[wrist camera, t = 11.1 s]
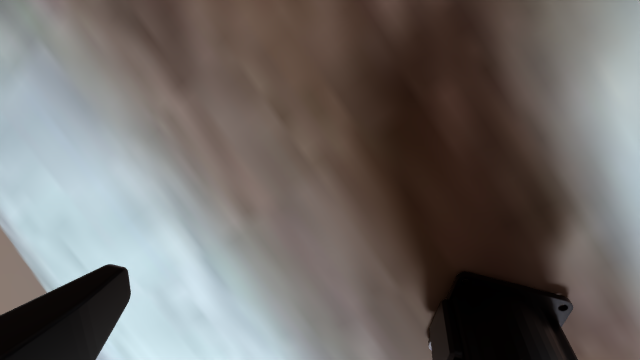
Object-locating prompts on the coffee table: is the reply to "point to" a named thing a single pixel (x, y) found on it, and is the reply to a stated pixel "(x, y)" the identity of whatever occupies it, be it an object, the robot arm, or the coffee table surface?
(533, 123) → the coffee table surface
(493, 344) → the robot arm
